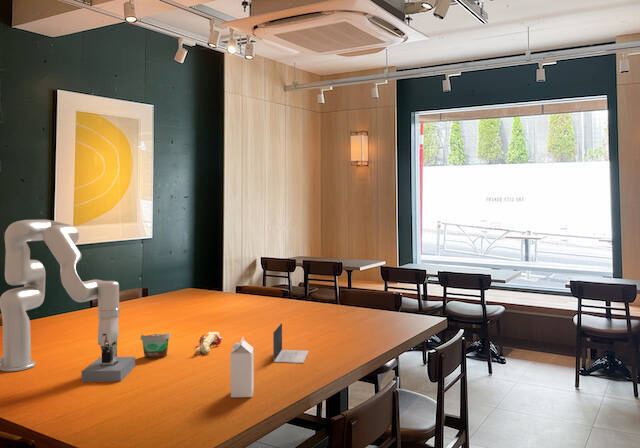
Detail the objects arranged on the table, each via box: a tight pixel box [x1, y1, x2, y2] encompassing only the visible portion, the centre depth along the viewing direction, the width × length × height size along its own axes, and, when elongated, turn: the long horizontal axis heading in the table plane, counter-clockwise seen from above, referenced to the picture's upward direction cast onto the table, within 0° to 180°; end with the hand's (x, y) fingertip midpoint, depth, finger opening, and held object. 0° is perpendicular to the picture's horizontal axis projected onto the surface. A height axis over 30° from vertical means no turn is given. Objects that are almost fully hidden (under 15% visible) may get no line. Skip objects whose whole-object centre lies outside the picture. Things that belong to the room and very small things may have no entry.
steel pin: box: [102, 344, 116, 366], centre depth 201 cm, size 4×4×11 cm
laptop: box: [272, 322, 310, 364], centre depth 224 cm, size 18×12×13 cm
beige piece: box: [194, 331, 224, 356], centre depth 239 cm, size 10×9×25 cm
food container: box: [140, 332, 171, 360], centre depth 223 cm, size 12×6×10 cm, turn 105°
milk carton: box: [229, 336, 255, 398], centre depth 179 cm, size 7×7×19 cm
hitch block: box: [81, 356, 136, 383], centre depth 201 cm, size 14×18×4 cm
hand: (109, 359), depth 201 cm, fingers open, 6 cm apart
